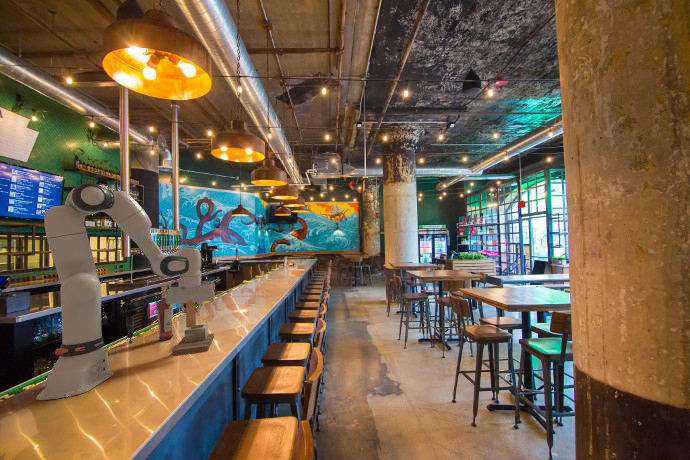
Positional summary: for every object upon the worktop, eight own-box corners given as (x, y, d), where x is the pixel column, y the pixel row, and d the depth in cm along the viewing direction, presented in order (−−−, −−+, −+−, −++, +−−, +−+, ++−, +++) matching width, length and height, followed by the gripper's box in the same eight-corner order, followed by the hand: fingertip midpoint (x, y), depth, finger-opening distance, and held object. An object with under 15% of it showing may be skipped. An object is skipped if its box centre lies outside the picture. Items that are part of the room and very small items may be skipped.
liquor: (169, 341, 159) (167, 285, 160) (154, 341, 160) (153, 285, 161) (177, 336, 167) (175, 283, 168) (163, 337, 167) (161, 284, 168)
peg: (195, 326, 143) (194, 299, 144) (185, 327, 142) (185, 300, 143) (196, 324, 147) (196, 298, 148) (187, 325, 146) (187, 299, 147)
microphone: (123, 342, 160) (122, 303, 161) (139, 340, 163) (138, 301, 164) (120, 346, 154) (119, 305, 155) (137, 344, 157) (136, 303, 158)
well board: (207, 350, 141) (207, 333, 141) (172, 355, 137) (172, 337, 137) (214, 337, 162) (213, 322, 162) (184, 340, 158) (183, 325, 158)
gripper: (215, 280, 152) (216, 309, 151) (168, 282, 146) (168, 313, 145) (214, 281, 146) (214, 311, 145) (164, 284, 140) (164, 315, 139)
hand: (190, 312), depth 145 cm, fingers closed on peg, 4 cm apart
